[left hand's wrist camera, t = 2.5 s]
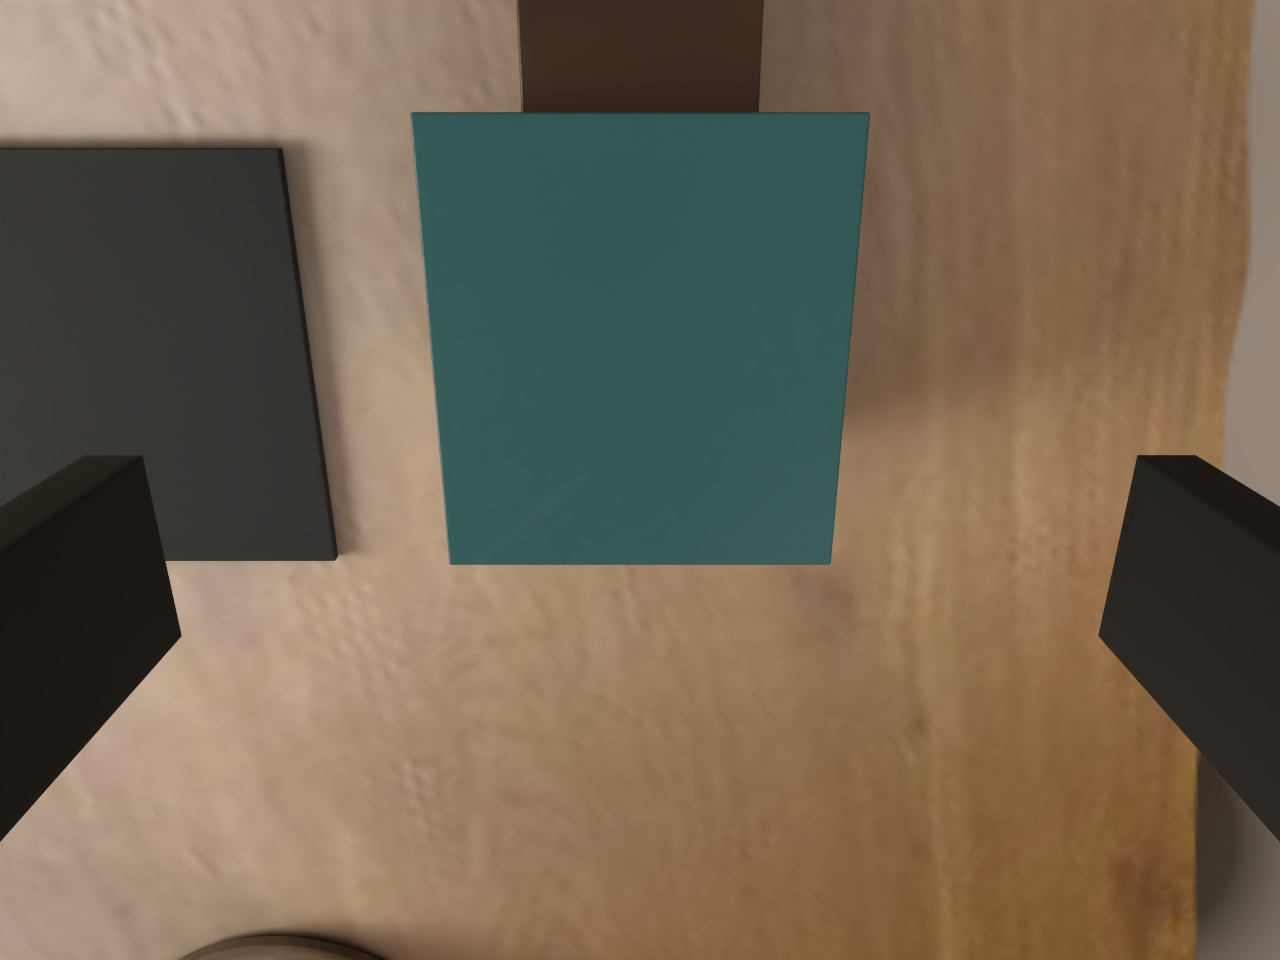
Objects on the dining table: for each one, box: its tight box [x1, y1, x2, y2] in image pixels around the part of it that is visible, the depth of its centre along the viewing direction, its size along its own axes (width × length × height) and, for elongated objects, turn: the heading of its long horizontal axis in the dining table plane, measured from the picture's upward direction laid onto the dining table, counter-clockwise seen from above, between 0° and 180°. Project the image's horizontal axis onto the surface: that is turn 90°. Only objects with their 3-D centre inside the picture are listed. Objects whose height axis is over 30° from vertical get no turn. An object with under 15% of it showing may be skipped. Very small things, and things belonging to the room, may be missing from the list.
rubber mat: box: [0, 148, 338, 561], centre depth 30 cm, size 14×14×1 cm
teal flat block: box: [410, 112, 870, 565], centre depth 24 cm, size 11×10×5 cm
